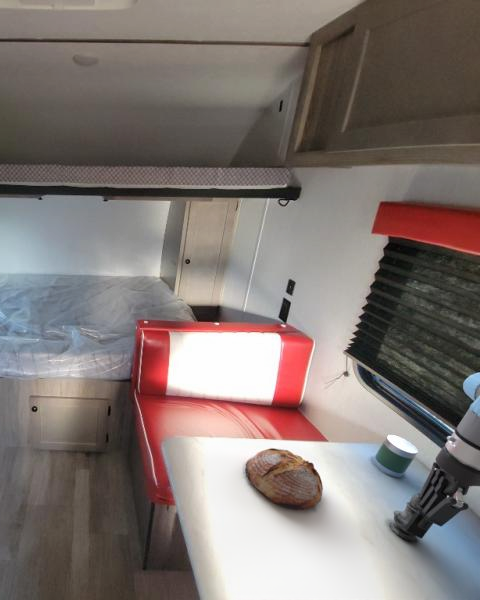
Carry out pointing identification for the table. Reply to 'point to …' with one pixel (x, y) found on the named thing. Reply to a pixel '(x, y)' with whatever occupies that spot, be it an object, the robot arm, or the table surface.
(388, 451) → the tin can
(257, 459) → the bread
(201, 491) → the table surface
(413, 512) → the grey stone statuette
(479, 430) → the robot arm
